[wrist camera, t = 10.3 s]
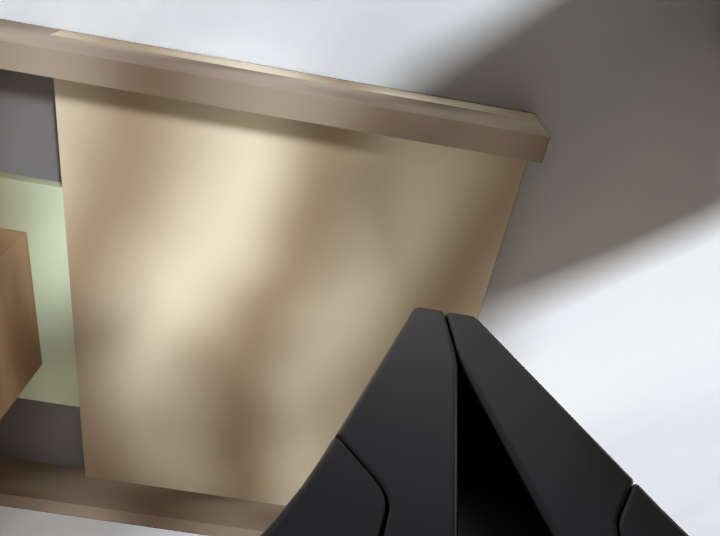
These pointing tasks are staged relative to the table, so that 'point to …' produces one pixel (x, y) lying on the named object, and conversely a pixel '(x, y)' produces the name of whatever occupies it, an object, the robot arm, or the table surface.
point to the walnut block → (16, 318)
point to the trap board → (224, 265)
